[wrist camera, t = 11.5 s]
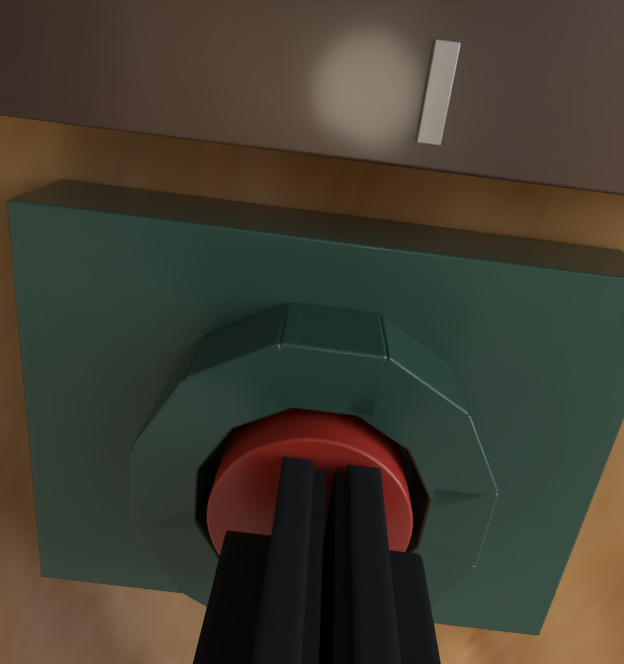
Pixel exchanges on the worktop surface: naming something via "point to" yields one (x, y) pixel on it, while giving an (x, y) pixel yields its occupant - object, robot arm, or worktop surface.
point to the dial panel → (338, 79)
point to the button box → (311, 380)
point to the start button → (306, 443)
